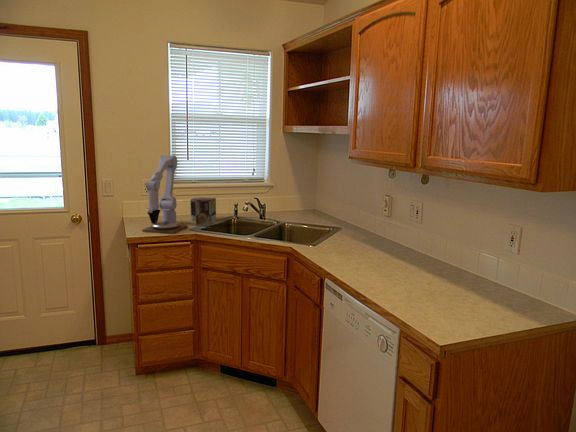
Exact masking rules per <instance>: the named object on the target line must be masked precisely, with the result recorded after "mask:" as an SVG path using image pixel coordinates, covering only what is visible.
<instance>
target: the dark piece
mask: <svg viewBox="0 0 576 432" xmlns="http://www.w3.org/2000/svg"><path fill="white" fill-rule="evenodd" d="M216 198H217V197H203V196H201V197H199V196H196V197H193V198H191V199H190V219H191V221H196V206H195V201H197V200H211V207H212V222H213V221H214V220H216V219H217V202H216V201H217V199H216Z"/></svg>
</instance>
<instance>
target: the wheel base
mask: <svg viewBox="0 0 576 432" xmlns="http://www.w3.org/2000/svg"><path fill="white" fill-rule="evenodd" d="M187 228H188V224H180V226H178V227H175V228H167V229H159V228H153V227H151V225H150V226H147V227H145V228H143V229H142V233H153V234H166V235H167V234H169V235H175V234H177V233H178V232H181V231H183V230H185V229H187Z"/></svg>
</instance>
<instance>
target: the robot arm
mask: <svg viewBox="0 0 576 432" xmlns="http://www.w3.org/2000/svg"><path fill="white" fill-rule="evenodd" d="M177 167H178V158H177V156H176V155H163V154H161V155H160V156H159V164H158V167H157V170H156V171H155V172H153V174H152V176H151V178H150V179H149V180H148V181H147V182H146V186H145V188H146V192H147V194H148V207H146V209H148V211H147V214H148V216H149V219H150V222H151V224H152V223H155V222H156V218H157V222H159V216H160V212H161V211H162V212H161V213H162V216H161V217H162V221H176V222H179V221H177V211H176V208H177V204H178V203H177V199H176V196H174V195H173V192H174V183H175V182H174V181H175V174H176V173H175V171H176V170H177V169H178V168H177ZM165 170H166V171H165ZM164 172H166V174H165V175H166V176H165V185H164V194H163V195H162V196H161V197H160V199H159V190H160V188H161V181H162V179H163V177H164V175H163V174H164Z"/></svg>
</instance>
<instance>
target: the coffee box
mask: <svg viewBox="0 0 576 432" xmlns="http://www.w3.org/2000/svg"><path fill="white" fill-rule="evenodd" d="M195 206H196V220H195V226H196V227H210V226H212V225H213V221H212V207H211V200H197V201H195Z"/></svg>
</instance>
